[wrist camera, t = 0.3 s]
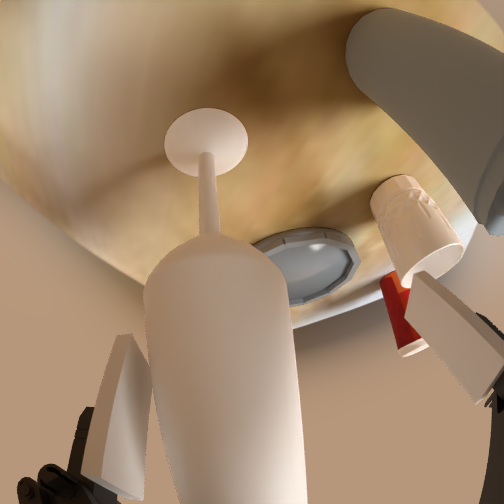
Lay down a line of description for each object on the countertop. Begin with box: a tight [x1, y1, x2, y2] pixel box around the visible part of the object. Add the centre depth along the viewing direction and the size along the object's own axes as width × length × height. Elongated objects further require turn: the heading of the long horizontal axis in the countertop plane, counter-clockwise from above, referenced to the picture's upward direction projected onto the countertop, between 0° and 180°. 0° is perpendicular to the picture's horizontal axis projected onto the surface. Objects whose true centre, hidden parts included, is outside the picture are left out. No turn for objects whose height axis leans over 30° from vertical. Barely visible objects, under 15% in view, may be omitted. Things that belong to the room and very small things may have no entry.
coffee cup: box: [380, 270, 429, 357], centre depth 42 cm, size 8×8×15 cm
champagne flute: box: [143, 108, 307, 504], centre depth 13 cm, size 7×7×24 cm
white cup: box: [370, 175, 465, 288], centre depth 25 cm, size 8×8×10 cm
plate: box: [252, 227, 361, 307], centre depth 37 cm, size 18×18×2 cm
